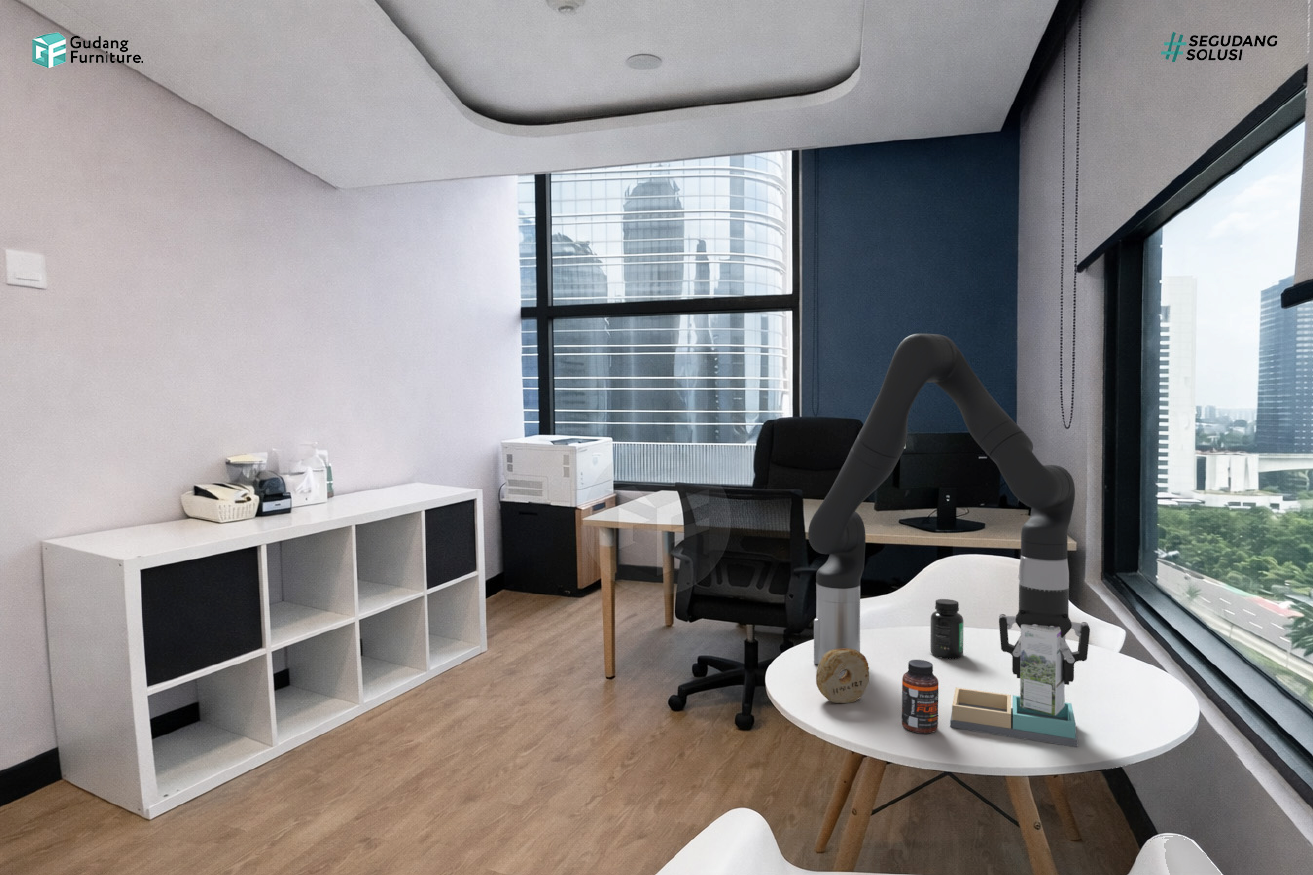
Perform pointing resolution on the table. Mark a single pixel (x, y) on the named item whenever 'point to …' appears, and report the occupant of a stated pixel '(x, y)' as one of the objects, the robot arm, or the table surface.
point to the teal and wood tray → (1011, 718)
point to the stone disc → (850, 683)
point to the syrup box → (1041, 670)
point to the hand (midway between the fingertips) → (1042, 679)
